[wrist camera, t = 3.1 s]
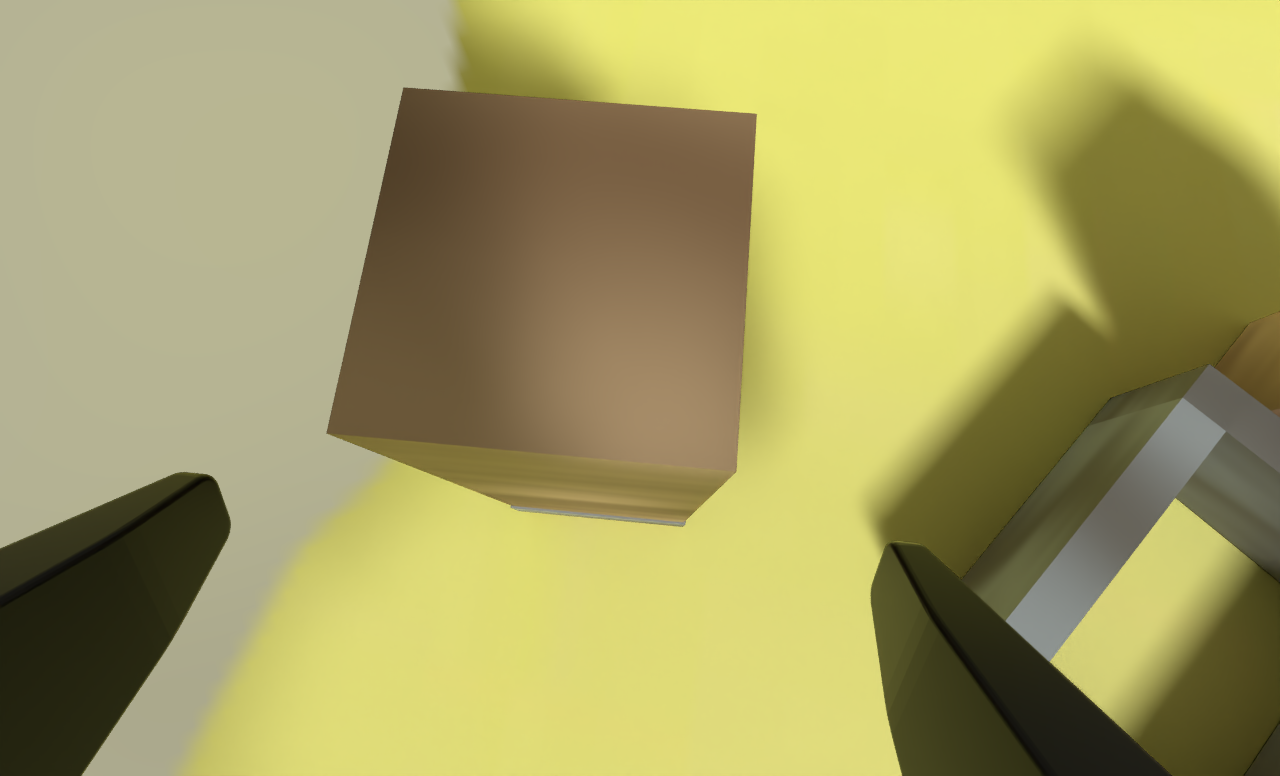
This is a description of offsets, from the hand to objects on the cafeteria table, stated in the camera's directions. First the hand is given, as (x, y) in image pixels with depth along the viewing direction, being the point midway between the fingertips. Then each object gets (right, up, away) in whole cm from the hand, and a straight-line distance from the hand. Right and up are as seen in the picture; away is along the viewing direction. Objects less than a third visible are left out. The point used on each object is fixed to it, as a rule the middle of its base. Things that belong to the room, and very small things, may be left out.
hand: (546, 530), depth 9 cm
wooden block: (0, 0, +11) cm, 11 cm away
